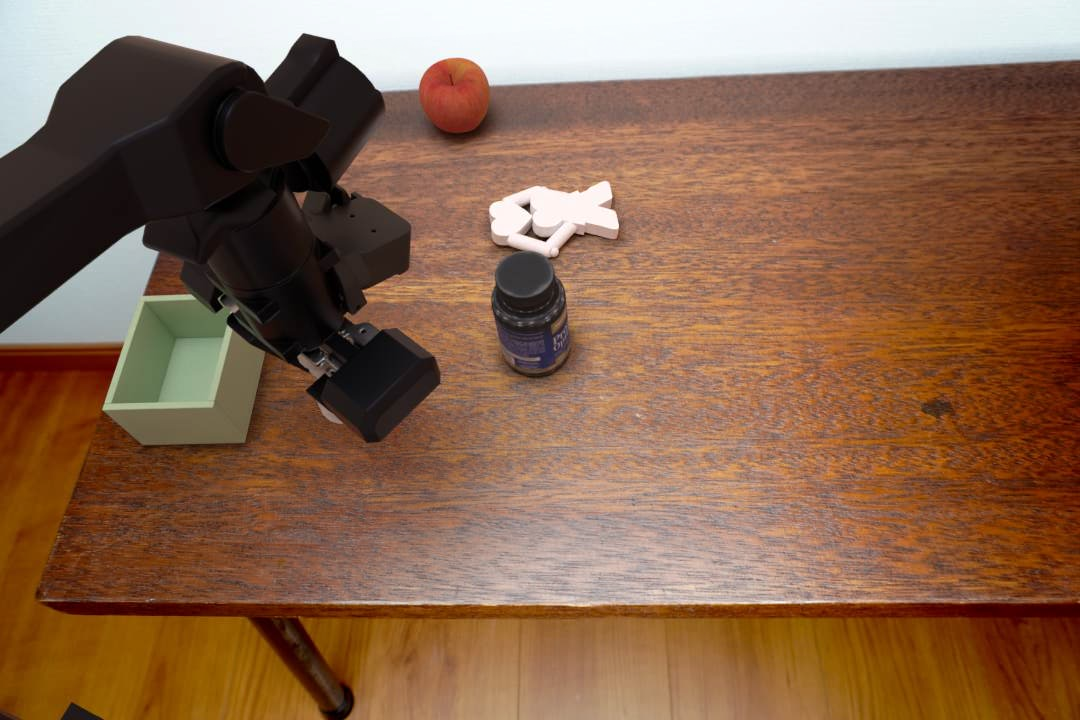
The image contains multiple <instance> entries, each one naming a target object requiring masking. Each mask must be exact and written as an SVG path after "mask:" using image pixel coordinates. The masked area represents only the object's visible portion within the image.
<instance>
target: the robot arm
mask: <svg viewBox="0 0 1080 720" xmlns="http://www.w3.org/2000/svg"><path fill="white" fill-rule="evenodd" d="M386 111H387V109H386V103H385V99H384V96H383V94H382V92H381V91H380V90H379V89H378V88H376V87H375V85H374V84H373V82H372V81H371V80H370V79H369V78H368V76H367V75H366V74H365V73H364V72H363V71H362V70H360V68H359V67H357V66H356V65H355V64H353V63H352V62H351V61H349V60H347V59H346V58H345V57H343V56H341V55H340V52H339V50H338V46H337V43H336V41H335V40H334V39H331V38H328V37H322V36H319V35H314V34H311V33H306V32H303V33H302V34H301V35H300V36H299V37H298V38H297V39H296V40H295V41H294V43H293V44H292V45H291V47H290V49H289V50H288V52H287V54H286V56H285V58H284V59H283V60H282V61H281V62H280V64H279V65H278V66H276V68H275V69H274V71H272V73H271V74H270V75H269V76H268V77H267V78H266V80H265V81H264V79H263V78H262V77H261V76H260V75H259V73H258V72H257V71H256V69H255V68H254V67H252V66H250V65H248V64H247V63H245V62H244V61H242V60H238V59H233V58H229V57H225V56H223V55H217V54H214V53H209V52H206V51H201V50H199V49H194V48H190V47H186V46H182V45H179V44H174V43H170V42H167V41H162V40H158V39H155V38H150V37H146V36H142V35H129V34H128V35H125V36H121V37H118V38H115V39H113V40H111V41H110V42H109V43H107V44H106V45H105V46H104V47H102V48H101V49H100V50H99V51H97V53H96V54H94V55H93V56H92V57H91V58H90V59H88V61H87V62H85V63H84V64H83V65H82V66H81V67H80V68H78V70H77V71H75V72H74V73H73V74H71V76H69V78H67V79H66V80H65V81H64V82H63V83H61V85H60V86H59V87H58V89H57V90H56V93H55V96H54V97H53V101H52V105H51V107H50V109H49V113H48V115H47V118H46V120H45V123H44V124H43V125H42V126H41V127H40V128H39V129H37V131H36V132H35V133H34V134H32V136H30V137H29V138H28V139H27V140H26V141H24V142H23V143H22V144H20V145H19V146H17V147H16V148H13V149H12V150H11V151H9V152H7V153H6V154H4V155H3V156H1V157H0V335H2V333H4V332H6V330H8V329H9V328H10V327H11V326H13V325H14V324H15V323H16V322H18V321H19V320H20V319H22V318H23V317H25V316H26V314H28V313H29V312H31V311H32V309H35V307H37V306H38V305H39V304H40V303H42V302H43V301H44V300H46V299H47V298H48V297H49V296H51V295H53V293H55V292H56V291H57V290H59V289H60V288H62V286H63V285H65V284H66V283H67V282H68V281H70V280H71V279H72V278H74V277H75V276H76V275H77V274H79V273H80V272H81V271H82V270H84V269H85V268H86V267H88V266H89V265H90V264H91V263H93V262H94V261H95V260H96V259H98V258H99V257H100V256H102V255H103V254H104V253H105V252H106V251H108V250H109V249H111V248H112V247H113V246H114V245H116V244H117V243H118V242H120V241H121V240H122V239H123V238H124V237H126V236H128V235H130V234H132V233H133V232H136V231H137V230H139V229H141V228H142V227H143V233H142V238H141V243H142V245H143V246H144V247H145V248H146V249H148V250H152V251H155V252H158V253H161V254H164V255H166V256H169V257H171V258H176V259H178V260H181V261H183V263H182V266H181V271H180V275H179V281H181V283H182V284H183V285H184V287H185V288H186V290H187V291H188V293H190V294H191V295H192V296H193V297H195V298H196V299H197V300H198V301H199V302H201V303H202V304H203V305H204V306H205V307H206V308H208V309H209V310H210V311H211V312H212V313H214V314H216V313H217V312H219V311H220V310H221V309H222V308H224V307H223V306H222V305H221V303H220V302H219V300H218V298H220V301H221V302H222V304H223V305H224V306H226V307H227V308H228V309H229V310H230V311H232V313H231V314H230V315H229V316H228V317H227V320H226V322H227V325H228V326H229V327H230V328H231V329H232V330H234V331H235V332H236V333H237V334H238V335H240V336H241V337H242V338H243V339H244V340H245V341H247V342H248V343H249V344H250V345H252V346H254V347H256V348H258V349H260V350H262V351H265V353H266V354H269V355H270V356H273V357H275V358H276V359H279V360H281V361H283V362H285V363H287V364H288V365H291V366H293V367H295V368H297V369H299V370H301V371H304V372H306V373H308V374H310V375H312V374H311V373H310V371H309V369H308V368H305V367H304V366H303V365H302V364H301V363H300V362H299V360H298V357H297V356H299V355H300V354H301V355H302V356H303V357H304V358H306V359H307V360H308V361H309V362H310V363H312V364H313V365H314V366H316V367H320V366H321V365H322V364H324V363H325V362H327V363H328V365H330V366H331V367H328V368H327V369H326V370H325V373H324V374H323V375H322V376H321V377H320V378H319V379H317V378H316V380H315V381H314V382H312V384H311V385H309V386H308V387H307V388H306V389H305V392H306V394H308V395H309V396H310V397H312V398H313V399H314V400H315V401H316V402H317V401H318V402H319V403H320V404H321V405H322V406H323V407H325V408H326V409H327V410H328V411H329V412H331V413H333V414H334V415H335V416H336V417H337V418H338V419H339V420H340V421H341V422H342V423H344V424H343V425H345V426H346V427H347V428H348V429H349V430H351V431H352V432H353V433H354V434H355V435H356V436H357V437H359V438H360V439H361V440H362V441H363V442H364V443H366V444H376V443H381V442H382V441H384V439H386V438H387V436H389V434H391V433H392V432H393V431H394V430H395V429H396V428H397V426H399V425H400V424H401V423H402V422H403V421H404V420H405V419H406V418H407V417H408V416H409V415H410V414H411V413H412V412H413V411H414V410H415V409H416V408H417V407H419V405H420V404H421V403H423V401H424V400H426V398H427V397H428V396H429V395H431V393H432V392H433V391H435V389H437V388H438V387H439V386H440V385H441V378H442V377H441V376H442V375H441V370H440V367H439V364H438V361H437V358H436V356H435V355H434V354H432V353H431V352H430V351H428V350H427V349H425V348H424V347H423V346H421V345H420V344H419V343H418V342H416V341H415V340H414V339H412V338H411V337H410V336H408V335H407V334H406V333H404V332H403V331H401V330H400V329H399V328H398V327H393V328H392V327H391V328H382V329H381V330H380V329H379V328H377V327H376V326H375V325H373V324H372V323H370V322H367V321H364V322H363V321H362V322H360V323H359V322H358V323H354V322H352V321H350V320H349V319H348V318H347V317H346V316H345V315H347V313H348V314H349V315H351V316H354V315H356V314H357V313H358V312H359V311H360V310H361V309H363V308H364V307H365V306H366V305H367V304H368V300H367V298H366V296H365V294H364V292H363V291H364V290H368V289H371V288H373V287H375V286H377V285H379V284H381V283H382V282H385V281H387V280H388V279H391V278H392V277H394V276H396V275H398V276H401V275H403V274H404V273H406V272H408V270H409V269H410V265H411V263H410V261H411V243H412V225H411V222H409V221H408V220H407V219H405V218H404V217H402V216H401V215H399V214H397V213H396V212H394V211H393V210H391V209H390V208H388V207H387V206H386V205H384V204H383V203H381V202H380V201H378V200H377V199H374V198H371V197H366V196H365V197H364V196H363V195H361V194H360V193H358V192H357V191H353V192H350V195H349V193H348V191H347V190H346V189H345V188H344V187H343V186H342V185H340V184H338V182H339V181H340V180H341V178H342V177H343V176H344V174H345V173H346V171H348V169H349V167H350V166H351V164H352V163H353V162H354V161H355V159H356V158H357V157H358V155H359V154H360V153H361V151H362V150H363V148H364V147H365V146H366V144H367V143H368V141H369V140H370V139H371V138H372V137H373V135H374V133H375V132H376V131H377V129H378V128H379V126H380V125H381V124H382V122H383V120H384V119H385V116H386ZM294 193H296V194H302V193H306V194H305V196H304V199H303V202H302V205H300V203H299V202H298V200H297V197H296V195H295V194H294ZM339 333H340V334H339ZM319 347H321V348H323V349H324V350H325V351H326V352H328V353H329V355H328V354H327V353H326V354H325V353H324V351H323V350H321V349H320V348H319ZM320 350H321V351H320ZM318 402H317V403H318ZM0 720H23V719H22V718H20V717H19V716H16V715H15V714H13V713H11V712H8V711H6V710H4V709H2V708H0ZM59 720H105V719H104V718H102V717H100V716H99V715H96V714H95V713H92V712H91V711H90V710H87V709H86V708H84V707H82V706H80V705H78V704H77V703H75V702H73V701H71V702H70V703H69V705H68V706H67V708H66V710H65V711H64V712H63V714H62V716H61V717H60V719H59Z"/></svg>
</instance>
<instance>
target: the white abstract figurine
mask: <svg viewBox="0 0 1080 720" xmlns="http://www.w3.org/2000/svg"><path fill="white" fill-rule="evenodd" d="M612 201H613V192H612V188H611V184H610V182H609V181H607V180H604V181H601V182H598V183H597V184H594V185H592V186H590V187H588V188H587V189H586V190H584V191H582V192H580V191H579V189H577V190H575V191H573V192H570V193H569V192H566V191H562V190H556V189H550V188H548V187H547V186H540V185H534V186H532V187H529V188H526V189H523V190H520V191H519V192H516V193H513V194H510V195H507V196H505V197H503V198H502V199H501V200H499V201H494V202H493V203H491V204H490V205H489V211H488V212H489V214H488V215H489V222H490V230H491V231H490V233H491V235H490V236H491V240H492V241H493V242H494V244H496V245H499V246H509V247H511V248H515V249H518V250H520V251H535V252H538V253H541V254H543V255H544V256H546V257H547V258H548V259H549V258H556V257H557V256H558V255H559V252H560V249H561V248H562V246H563V245H564V244H565V243H566V242H567V241H568V240H569V239H570V238H571V237H572V236H573V235H574V234H577V235H581V236H582V235H583V236H585V233H587V234H589V235H595V236H599V237H602V238H606V239H608V240H616V239H618V235H619V230H620V229H619V228H620V226H619V220H618V216H617V212H616V211H615V210H614V209H611V208H612ZM527 205H529V206H530V207H529V211H527V210H526V209H525V208H523V207H524V206H527ZM531 228H532V231H533V233H534V234H535V235H536V236H537V237H541V238H548V239H547V240H546V241H543V240H540V239H537V238H535V237H534V238H533V237H530V236H527V235H526V234H527V233H528V232H529V230H530V229H531Z"/></svg>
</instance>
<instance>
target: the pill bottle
mask: <svg viewBox="0 0 1080 720" xmlns="http://www.w3.org/2000/svg"><path fill="white" fill-rule="evenodd" d="M494 281H495V284H494V286H493V289H492V291H491V297H490V305H491V310H492V315H493V318H494V322H495V328H496V332H497V336H498V340H499V344H500V348H501V352H502V356H503V358H504V361H505V362H506V363H507V365H508V366H509V367H510V368H511V369H512V370H513V371H515V372H516V373H519V374H522V375H523V376H528V377H542V376H546V375H549V374H551V373H554V372H555V371H557V370H559V368H560V367H562V366H563V365H564V364H565V363H566V361H567V360H568V357H569V355H570V352H571V335H570V334H571V333H570V324H569V315H568V306H567V305H568V304H567V295H566V289H565V286H564V284H563V283H562V281H561V279H560V278H559V277H558V276H557V275H556V273H555V268H554V265H553V263H552V261H551V260H550V259H549V258H547V257H546V256H544V255H543V254H541V253H538V252H535V251H524V250H518V251H515V252H512V253H510V254H508V255H507V256H505V257H504V258H503V259H501V261H500V262H499V263H498V265H497V267H496V268H495V271H494Z"/></svg>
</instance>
